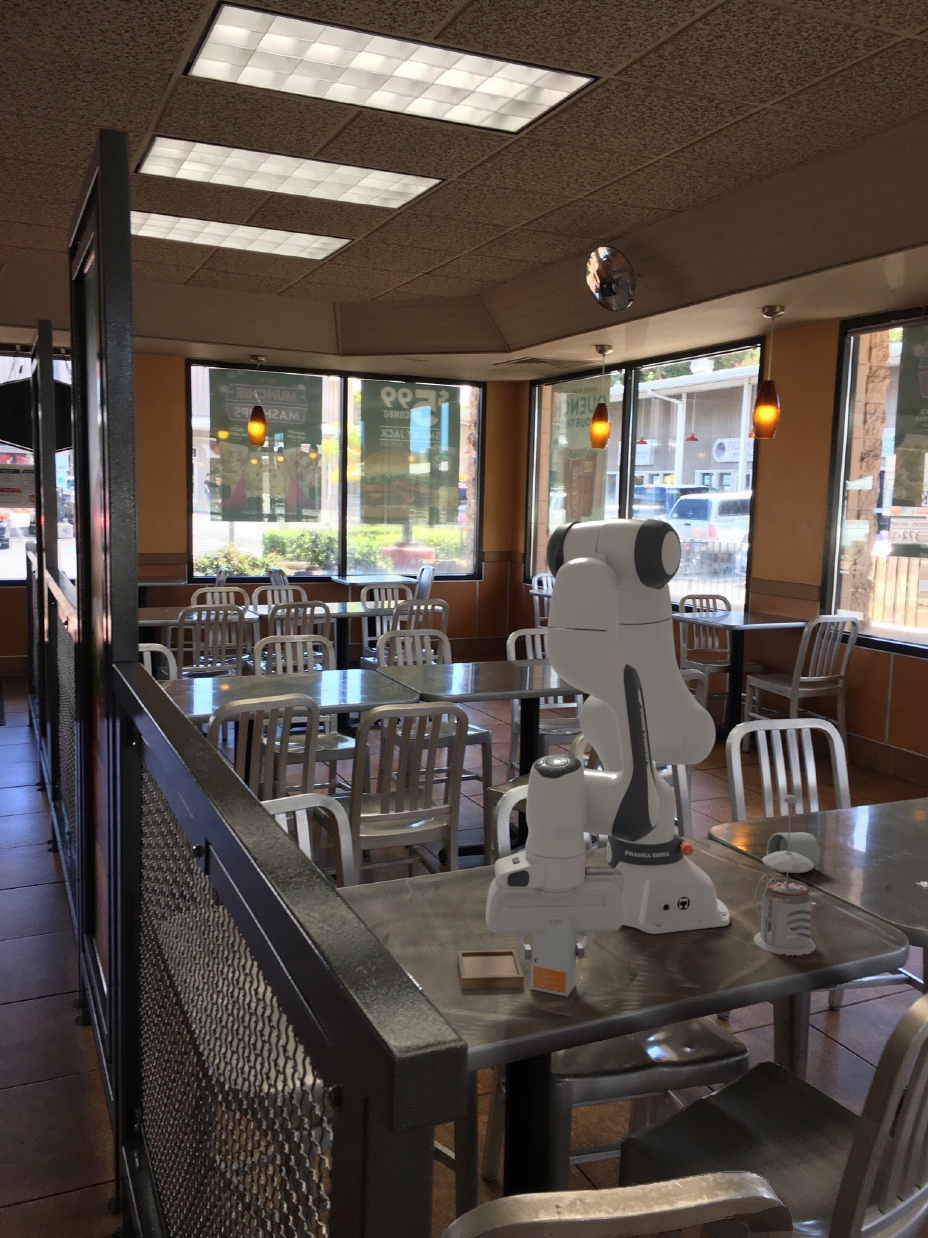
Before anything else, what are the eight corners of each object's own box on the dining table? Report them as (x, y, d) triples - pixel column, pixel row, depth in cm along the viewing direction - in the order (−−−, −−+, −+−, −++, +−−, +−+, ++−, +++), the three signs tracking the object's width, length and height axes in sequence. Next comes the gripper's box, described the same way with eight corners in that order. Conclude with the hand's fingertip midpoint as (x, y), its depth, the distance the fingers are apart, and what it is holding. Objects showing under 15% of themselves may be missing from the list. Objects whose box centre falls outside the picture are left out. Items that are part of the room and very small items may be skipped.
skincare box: (529, 990, 147) (530, 912, 146) (537, 978, 151) (539, 902, 150) (568, 998, 145) (570, 919, 144) (576, 985, 149) (578, 908, 148)
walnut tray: (515, 960, 157) (515, 949, 157) (523, 987, 148) (523, 976, 148) (457, 961, 156) (457, 951, 156) (461, 989, 147) (461, 978, 147)
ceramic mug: (824, 873, 197) (825, 835, 196) (790, 878, 194) (791, 839, 193) (788, 856, 207) (789, 820, 206) (755, 861, 204) (756, 824, 203)
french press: (828, 947, 163) (836, 798, 160) (780, 963, 157) (787, 809, 154) (780, 926, 171) (787, 783, 168) (733, 941, 165) (738, 793, 162)
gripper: (620, 859, 150) (617, 947, 151) (484, 861, 148) (483, 950, 150) (630, 874, 144) (627, 965, 145) (489, 876, 142) (488, 969, 144)
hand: (553, 958), depth 147 cm, fingers closed on skincare box, 7 cm apart
